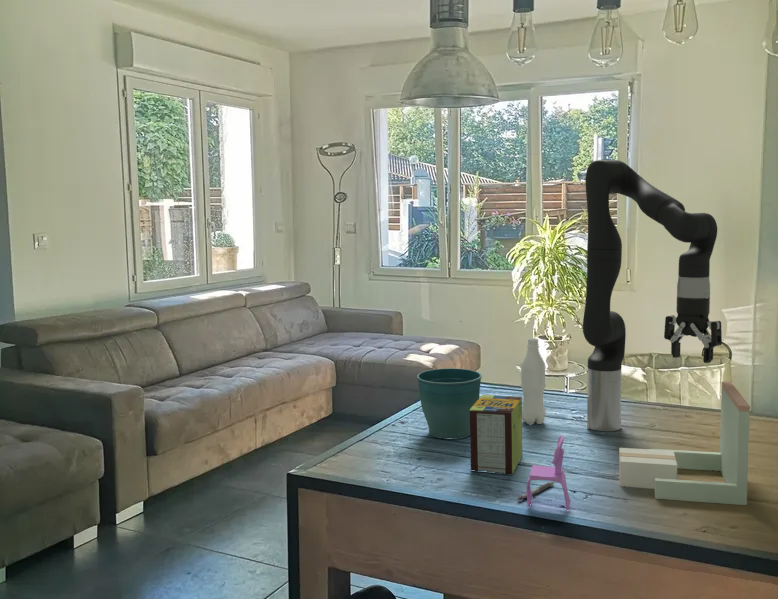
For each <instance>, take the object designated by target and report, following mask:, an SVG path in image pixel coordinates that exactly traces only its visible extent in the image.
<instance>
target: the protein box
mask: <svg viewBox="0 0 778 599" xmlns="http://www.w3.org/2000/svg"><path fill="white" fill-rule="evenodd" d="M522 407H523V397H522V396H513V395H511V396H510V395H498V394H495V395H493V394H482V395H481V396H479V399H478V400H477V402H476V403H475V404H474V405H473V406H472V407H471V409H470V410H469V413H470V435H469V446H470V448H469V454H470V455H469V457H470V471H471V470H475V471H487V472H495V473H503V474H502V475H506V474H513V475H514V473H515V471H516V468H517V467H518V465H519V462H520V461H519V460H521V459H522V457H523V420H522ZM521 456H522V457H521ZM520 458H521V459H520ZM495 473H494V474H495ZM504 473H505V474H504Z"/></svg>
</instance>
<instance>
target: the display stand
mask: <svg viewBox="0 0 778 599" xmlns="http://www.w3.org/2000/svg"><path fill="white" fill-rule="evenodd" d="M720 390H721V394H720V395H721V396H720V397H721V398H720V425H719V426H720V429H719V430H720V432H719V433H720V434H719V436H720V437H719V451H718V452H714V451H713V452H712V451H697V450H696V451H694V450H683V449H682V450H680V449H679V450H677V449H666V448H665V449H663V448H662V449H661V448H648V449H649V450H665V451H674V455H675V458H676V462H677V469H685V470H696V471H697V470H699V471H712V470H714V471H715V472H720V473H721V475H722V477H723V479H724V482H719V481H703V480H702V481H701V480H690V479H689V480H687V479H677V480H675V479H660V478H655V489H654V499H656V500H657V499H658V500H671V501H683V502H695V503H696V502H697V503H698V502H699V503H708V504H709V503H710V504H712V503H713V504H721V505H723V504H724V505H737V506H738V505H739V506H748V482H749V481H748V480H749V479H748V476H749V474H748V473H749V445H750V444H749V443H750V442H749V441H750V415H751V414H750V409H751V406H750V404H749V403H748V402H747V401H746V399H745V398H744V396H743V395H742V393H740V392H739V390H738V389H737V388H736V386H735V385H734V384H733V383H732V381H721V389H720Z"/></svg>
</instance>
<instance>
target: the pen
mask: <svg viewBox="0 0 778 599" xmlns="http://www.w3.org/2000/svg"><path fill="white" fill-rule="evenodd" d="M554 484H555V482H554V481H548V482H546V483H544V484H542V485H540V486H538V487H536V488H534V489H532V490H531V493H532V495H533V494H534V495H536V494H537V492H538V493H540V492H542V491H544V490H546V488H547V489H549V488H551V487H552V486H553V485H554ZM548 487H549V488H548ZM535 493H536V494H535ZM534 495H533V496H534ZM526 497H527V494H526V493H524V494H521V495H520V496H518V497H517V498H516V501H517V500H522V499H524V498H526ZM526 499H527V498H526ZM524 500H525V499H524Z"/></svg>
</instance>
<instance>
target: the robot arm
mask: <svg viewBox="0 0 778 599" xmlns="http://www.w3.org/2000/svg"><path fill="white" fill-rule="evenodd" d="M585 194H586V195H585V196H586V197H585V198H586V209H587V247H586V269H587V270H586V295H585V302H584V303H585V305H584V311H583V312H584V313H583V320H582V333H583V337H584V339H585V340H586V342H587V343H588V344H589V345H591V346H592V347H594V348H593V352H592V353H591V354H590V356H589V357H588V359H587V397H586V398H587V400H586V401H587V405H586V406H587V407H586V408H587V410H586V411H587V412H586V413H587V415H586V417H587V421H586V422H587V425H586V426H587V427H586V429H588V430H593V431H598V432H616V431H619V430H621V428H622V366H623V365H622V364H623V360H624V358H625V351H626V338H627V336H626V323H625V321H624V319H623V317H622V316H621V315H620V314H619V313H618V312H616V311H612V310H611V298H612V294H613V290H614V288H615V286H616V283H617V280H618V277H619V274H620V271H621V268H622V259H623V258H622V257H623V256H622V252H623V245H622V243H623V242H622V239H621V234H620V233H619V230H618V229H617V227H616V225H615V223H614V221H613V218H612V216H611V212H610V195H615V194H619V195H622V196H625V197H628V198H629V199H631V200H633V201H634V202H635V203H636V204H637V206H638V207H639V208H638V209H640V210H641V212H642V213H643V214H645V216H647V217H649V218H650V219H652V220H653V221H654V222H656V223H658V224H660V225H662V226H663V228H664V229H665V230H666V231H667V232H668V233H669V234H670V235H671V236H672V237H673V238H675V239H676V240H677V241H680V242H681V243H686V244H687V243H689V244H690V245H689V248H688V250H687V251H685V252H683V253H681V254H680V255H679V257H678V273H677V274H678V276H677V282H676V284H677V285H676V313H677V316H675V314H674V315H668V316H667V315H666V316H665V318H664V320H665V321H664V322H665V323H664V334H663V338H664V339H665V340H668V341H669V342H670V343H671V344H670V345H671V346H670V350H671V351H670V354H671V355H672V358H674V359H677V358H680V357H681V342H680V341H681V340H682V339H683V337H685V336H691V337H693V338H697V339H698V340H699V341H701V342H702V344H703V346H704V347H703V363H704V364H710V363H711V362H712V361H713V360H714V348H715V347H718V346H721V345H722V344H723V341H722V337H723V335H722V321H721V320H715V321H713V320H712V321H711V320H710V319H709V318H710V317H709V316H710V309H711V308H710V306H711V305H710V303H711V300H710V299H711V284H710V283H711V282H710V271H711V270H710V269H711V268H710V266H711V265H710V262H711V257H712V254H713V251H714V248H715V244H716V241H717V237H718V225H717V221H716V219H715V217H714V216H713V215H711V214H710V213H706V212H694V213H693V212H691V213H690V212H687V211H686V208H685V205H684V204H683V203H682V202H680V201H679V200H678V199H676V198H674V197H673V196H671V195H669V194H668V193H665V192H664V191H662V190H660V189H658V188H657V187H655V186H654V185H653V184H651V183H649V182H648V181H647V180H645V179H644V178H643V177H642V176H641V175H639V174H638V173H637V172H636V171H635V170H634V169H633V168H631V167H630V166H629V165H628V164H627V163H625V162H623V161H621V160H617V159H595V160H593V161H592V162H590V163H589V165H588V167H587V169H586V172H585ZM676 325H677V326H678V327H677V329H676V330H675V328H676ZM708 329H709V330H710V332H709V330H708Z"/></svg>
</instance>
